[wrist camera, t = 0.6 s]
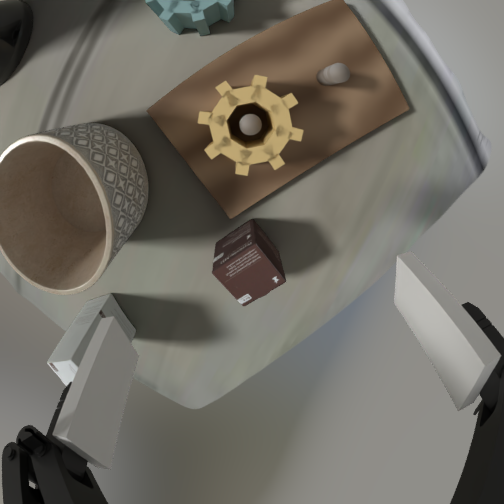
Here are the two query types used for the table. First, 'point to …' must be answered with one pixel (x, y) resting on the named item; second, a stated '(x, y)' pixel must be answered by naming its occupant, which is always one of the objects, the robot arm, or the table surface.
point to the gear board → (282, 83)
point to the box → (248, 263)
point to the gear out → (255, 149)
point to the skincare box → (85, 335)
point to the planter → (69, 204)
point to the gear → (192, 13)
